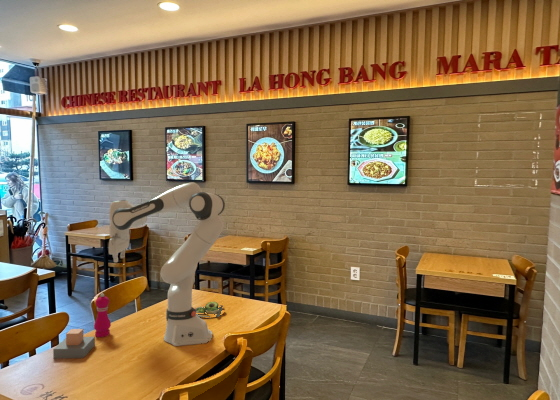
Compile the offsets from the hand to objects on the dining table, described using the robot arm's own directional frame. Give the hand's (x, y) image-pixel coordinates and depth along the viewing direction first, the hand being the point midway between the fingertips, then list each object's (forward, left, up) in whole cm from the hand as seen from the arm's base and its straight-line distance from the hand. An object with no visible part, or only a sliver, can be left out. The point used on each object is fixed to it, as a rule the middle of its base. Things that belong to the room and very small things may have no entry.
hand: (119, 260), depth 192 cm
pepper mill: (+5, +9, -34) cm, 36 cm away
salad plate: (-43, -20, -35) cm, 59 cm away
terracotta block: (+10, +27, -30) cm, 42 cm away
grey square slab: (+10, +27, -34) cm, 45 cm away
